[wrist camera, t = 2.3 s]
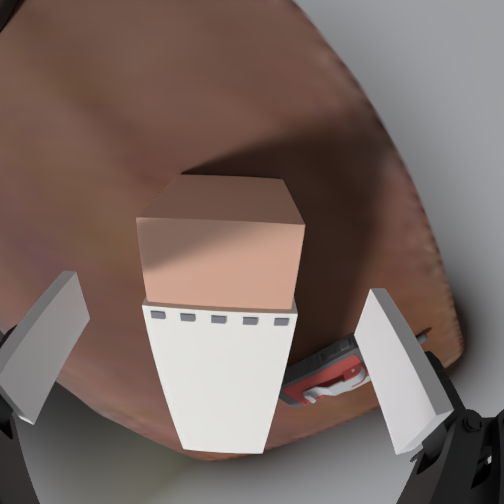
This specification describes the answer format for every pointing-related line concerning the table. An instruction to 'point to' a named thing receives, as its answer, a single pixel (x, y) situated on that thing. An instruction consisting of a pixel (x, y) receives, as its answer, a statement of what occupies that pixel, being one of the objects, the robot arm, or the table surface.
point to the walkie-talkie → (326, 373)
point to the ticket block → (220, 370)
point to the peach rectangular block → (221, 242)
